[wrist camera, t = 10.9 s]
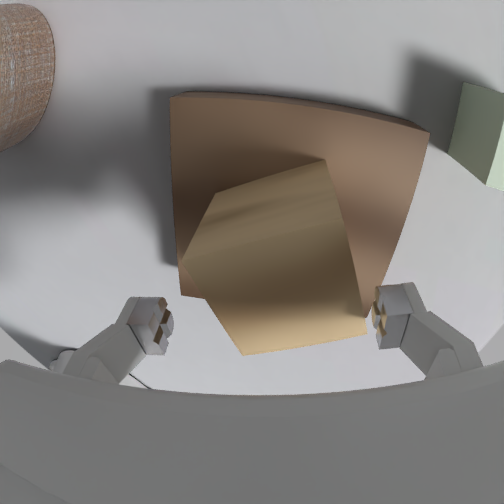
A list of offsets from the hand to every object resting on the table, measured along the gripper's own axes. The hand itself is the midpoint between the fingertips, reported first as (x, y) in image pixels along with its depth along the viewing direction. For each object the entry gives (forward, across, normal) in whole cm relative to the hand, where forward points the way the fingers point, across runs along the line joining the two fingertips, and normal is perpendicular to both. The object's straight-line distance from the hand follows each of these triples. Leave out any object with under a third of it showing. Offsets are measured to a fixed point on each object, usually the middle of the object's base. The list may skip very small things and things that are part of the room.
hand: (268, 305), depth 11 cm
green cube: (+7, -13, -5) cm, 16 cm away
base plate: (+8, -1, 0) cm, 8 cm away
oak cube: (+5, -1, 0) cm, 5 cm away
